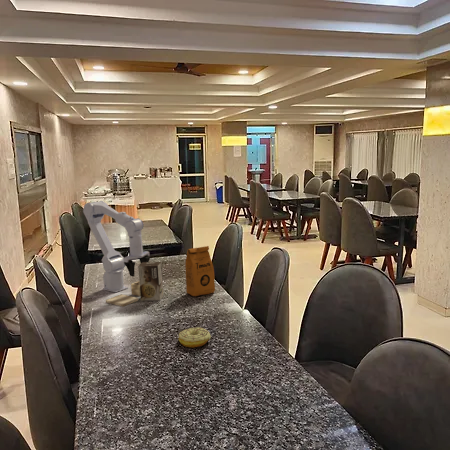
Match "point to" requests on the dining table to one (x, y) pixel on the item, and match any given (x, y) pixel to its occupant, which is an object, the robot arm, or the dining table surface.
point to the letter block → (135, 288)
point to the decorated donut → (194, 337)
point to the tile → (122, 300)
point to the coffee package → (199, 272)
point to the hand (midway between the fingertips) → (138, 273)
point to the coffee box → (150, 281)
